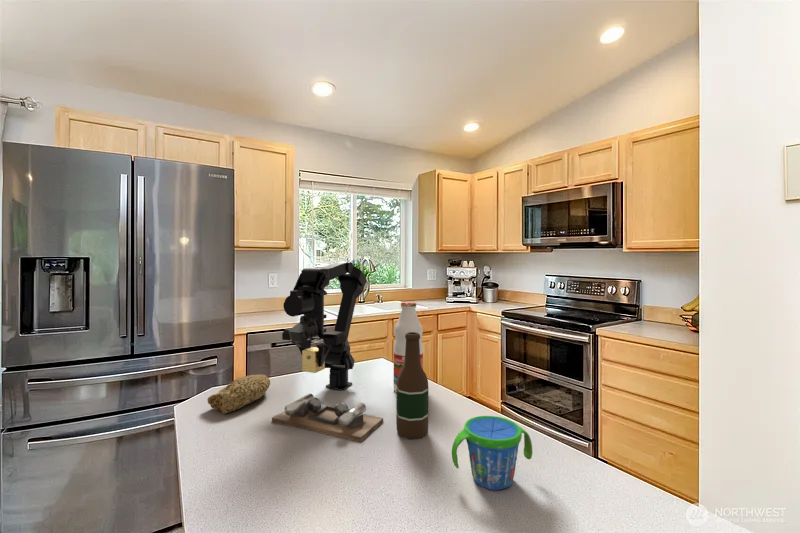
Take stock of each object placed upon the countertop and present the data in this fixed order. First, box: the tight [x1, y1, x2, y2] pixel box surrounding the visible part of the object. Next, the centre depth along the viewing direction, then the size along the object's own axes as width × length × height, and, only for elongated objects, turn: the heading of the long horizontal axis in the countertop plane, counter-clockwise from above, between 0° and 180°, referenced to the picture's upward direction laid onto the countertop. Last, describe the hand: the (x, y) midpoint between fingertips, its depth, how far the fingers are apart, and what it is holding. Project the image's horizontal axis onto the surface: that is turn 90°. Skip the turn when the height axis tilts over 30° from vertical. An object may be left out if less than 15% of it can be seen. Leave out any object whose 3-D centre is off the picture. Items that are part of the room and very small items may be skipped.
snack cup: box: [451, 415, 533, 491], centre depth 71 cm, size 16×10×10 cm
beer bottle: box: [395, 332, 429, 440], centre depth 90 cm, size 8×8×24 cm
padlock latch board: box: [271, 403, 384, 442], centre depth 96 cm, size 12×26×4 cm, turn 67°
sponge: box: [207, 374, 271, 415], centre depth 110 cm, size 13×8×20 cm
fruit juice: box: [393, 301, 424, 393], centre depth 120 cm, size 9×9×28 cm
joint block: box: [301, 346, 326, 374], centre depth 109 cm, size 5×4×6 cm
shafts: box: [283, 393, 367, 427], centre depth 95 cm, size 9×18×4 cm, turn 67°
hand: (313, 365), depth 109 cm, fingers closed on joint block, 4 cm apart
